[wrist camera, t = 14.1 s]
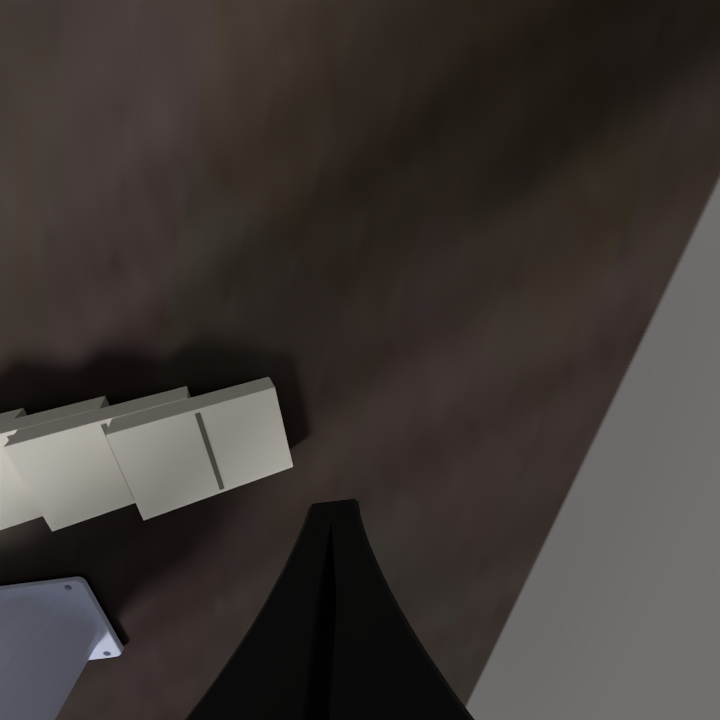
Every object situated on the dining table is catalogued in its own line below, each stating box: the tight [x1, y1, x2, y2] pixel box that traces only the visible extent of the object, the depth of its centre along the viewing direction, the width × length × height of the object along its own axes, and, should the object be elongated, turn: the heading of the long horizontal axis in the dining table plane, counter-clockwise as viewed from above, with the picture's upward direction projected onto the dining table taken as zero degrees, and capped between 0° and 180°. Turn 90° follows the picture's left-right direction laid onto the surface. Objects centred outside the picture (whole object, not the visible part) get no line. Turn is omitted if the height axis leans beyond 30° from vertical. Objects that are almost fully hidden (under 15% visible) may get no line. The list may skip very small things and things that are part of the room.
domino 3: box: [106, 377, 293, 520], centre depth 19 cm, size 2×5×8 cm
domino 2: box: [4, 386, 191, 532], centre depth 19 cm, size 2×5×8 cm
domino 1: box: [0, 396, 109, 530], centre depth 19 cm, size 2×5×8 cm
